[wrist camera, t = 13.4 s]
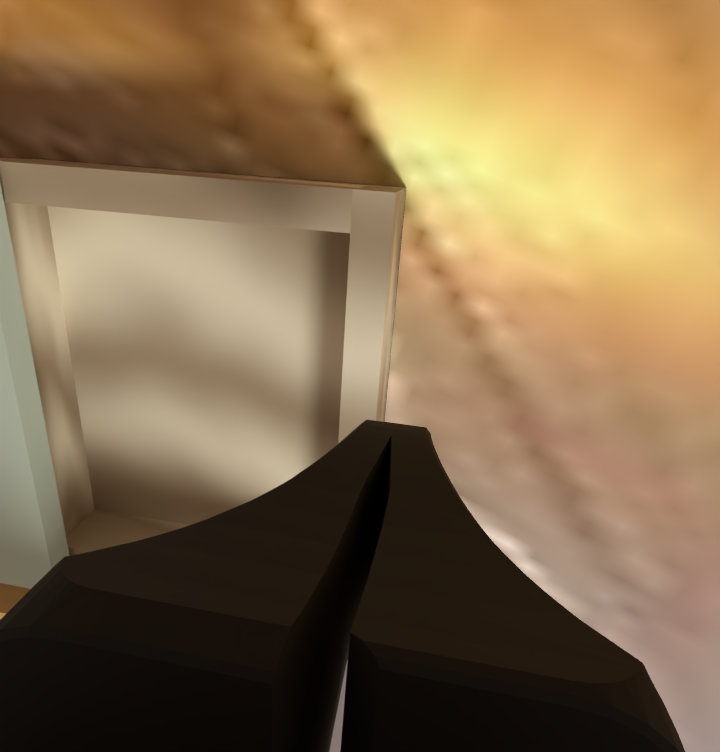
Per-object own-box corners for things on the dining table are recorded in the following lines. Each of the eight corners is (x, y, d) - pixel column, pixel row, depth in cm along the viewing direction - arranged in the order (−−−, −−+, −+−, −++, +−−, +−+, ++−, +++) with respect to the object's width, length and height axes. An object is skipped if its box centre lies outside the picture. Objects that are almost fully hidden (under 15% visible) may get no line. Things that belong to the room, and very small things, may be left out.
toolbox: (371, 561, 24) (358, 623, 21) (87, 512, 26) (35, 562, 22) (406, 187, 18) (395, 192, 14) (30, 158, 19) (-54, 156, 16)
